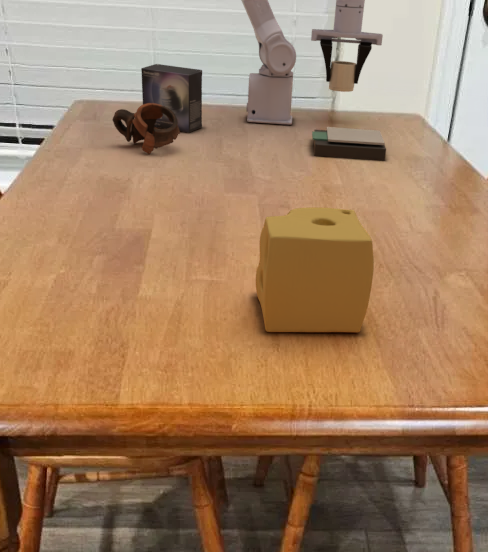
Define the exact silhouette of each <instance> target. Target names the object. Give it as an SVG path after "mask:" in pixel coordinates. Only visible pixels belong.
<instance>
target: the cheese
mask: <svg viewBox="0 0 488 552" xmlns="http://www.w3.org/2000/svg"><path fill="white" fill-rule="evenodd" d="M371 237H372V236H371V235H370V234H369V232H368V231H367V230H366V228H365V227H364V226H363V225H362V223H361V221H360V219H359V217H358V215H357V212H356V210H354V209H344V208H334V207H333V208H332V207H323V206H322V207H319V206H316V207H298V208H297V207H296V208H293V209H290V211H288V212H287V213H286V214H284V215H270V216H266V217H265V219H264V224H263V227H262V229H261V232H260V235H259V262H258V265H257V267H256V271H255V290H256V296H257V299H258V301H259V304H260V307H261V313H262V318H263V323H264V330H265V331H266V332H267V333H360V331H361V329H362V326H363V324H364V320H365V318H366V315H367V311H368V307H369V304H370V298H371V291H372V286H373V279H374V270H375V269H374V267H375V259H374V257H375V256H374V247H373V246H374V243H373V240H372V238H371Z"/></svg>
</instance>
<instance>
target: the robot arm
mask: <svg viewBox="0 0 488 552" xmlns="http://www.w3.org/2000/svg"><path fill="white" fill-rule="evenodd" d="M240 1H241V3H242V5H243V7H244V10H245V12H246V15H247V17H248V20H249V21H250V23H251V26H252V28H253V31H254V35H255V39H256V41H257V44H258V57H259V60H260V62H261V64H262V65H261V66H260V67H259V69H258V72H257V73H256V72H250V73H249V75H248V89H247V90H248V91H247V93H248V94H247V95H248V96H247V102H246V113H247V116H246V117H247V118H246V122H248V123H257V124H258V123H260V124H273V125H274V124H275V125H290V126H291V125H292V124H293V115H292V101H293V100H292V99H293V86H294V85H293V83H294V71H292V70H293V68H294V67H295V65H296V62H297V52H296V48H295V47H294V45H293V44H292V43H291V42H290V41H289V40H288V39H287V37H286V36H285V35H284V33H283V30H282V28H281V26H280V24H279V23H278V21H277V19H276V16H275V14H274V12H273V9H272V6H271V5H270V2H269V0H240ZM365 2H366V0H335V9H334V19H333V29H322V28H321V29H319V28H318V29H317V28H311V36H310V41H311V42H317V41H318V42H319V44H320V48H321V52H322V56H323V60H324V66H325V80H326V83H329V82H330V68H331V62H332V55H333V43H344V44H345V43H346V44H358V45H357V55H356V64H357V65H356V73H355V81H354V85H355V84H356V85H358V84H359V79H360V76H361V72H362V69H363V67H364V65H365V62H366V61H367V58H368V57H369V56H370V53H371V51H372V49H373V46H372V45H374V46H375V45H376V46H382V44H383V38H384V37H383V36H384V35H383V33H378V32H377V33H376V32H367V31H362V30H363V29H362V28H363V27H362V26H363V18H364V12H365V11H364V10H365V4H366V3H365Z"/></svg>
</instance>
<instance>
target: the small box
mask: <svg viewBox="0 0 488 552" xmlns="http://www.w3.org/2000/svg"><path fill="white" fill-rule="evenodd" d="M140 69H141V92H142V95H141V97H142V105H143V104H147V103H156V104H160V105H162V106H165V107H167V108H169V109H170V110H172V111H173V112H174V114H175V115H176V117H177V119H178V128H179V131H180V132H183V133H188V134H189V133H192V132H194V131H197V130H199V129H201V128H203V117H202V116H203V109H202V108H203V70H202V69H198V68H191V67H182V66H175V65H167V64H160V63H155V64H151V65H148V66H144V67H141V68H140ZM172 125H173V122H171V121H169V118H168V117H167V116H166V115H165V114H163V116H162V117H161V118H158V119H157V120H156V123H155V127H156V128H157V129H167V128H170V127H171V126H172Z"/></svg>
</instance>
